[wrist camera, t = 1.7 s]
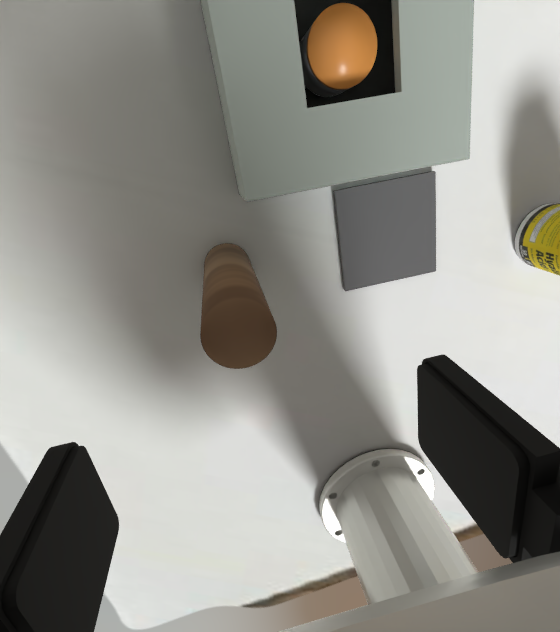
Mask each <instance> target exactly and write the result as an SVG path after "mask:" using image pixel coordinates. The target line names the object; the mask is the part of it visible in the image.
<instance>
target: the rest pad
mask: <svg viewBox="0 0 560 632" xmlns="http://www.w3.org/2000/svg"><path fill="white" fill-rule="evenodd" d="M333 192H334V201H335V211H336V220H337V230H338V239H339V248H340V258H341V267H342V276H343V286H344V290H345V291H348V290H353V289H357V288H362V287H367V286H371V285H376V284H380V283H385V282H389V281H394V280H398V279H403V278H407V277H412V276H416V275H421V274H425V273H430V272H434V271H436V191H435V171H432V172H427V173H422V174H416V175H411V176H406V177H401V178H396V179H391V180H386V181H381V182H375V183H370V184H365V185H360V186H355V187H350V188H345V189H340V190H334V191H333Z"/></svg>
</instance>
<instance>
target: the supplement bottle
mask: <svg viewBox="0 0 560 632" xmlns="http://www.w3.org/2000/svg"><path fill="white" fill-rule="evenodd" d="M515 250H516V253H517V255H518V257H519V258H520V259H521V260H522V261H523V262H524V263H526V264H528V265H530V266H533V267H536V268H539V269H542V270H545V271H548V272H551V273H554V274H557V275H560V204H557V203H551V204H545V205H542V206H540V207H538V208H536V209H534V210H533V211H532V212H530V213H529V214H528V215H527V216H526V218H525V219H524V220H523V221H522V223H521V225H520V227H519V229H518V231H517V234H516V238H515Z"/></svg>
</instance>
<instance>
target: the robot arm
mask: <svg viewBox="0 0 560 632" xmlns="http://www.w3.org/2000/svg"><path fill="white" fill-rule="evenodd" d="M417 386H418V439H419V444H420V446H421V448H422V450H423V452H424V453H425V454H426V456H427V457H428V459H429V460H430V461H431V463H432V464H433V465H434V467H435V468H436V469H437V471H438V472H439V473H440V475H441V476H442V477H443V479H444V480H445V481H446V483H447V484H448V486H449V487H450V488H451V490H452V491H453V492H454V494H455V495H456V496H457V498H458V499H459V500H460V502H461V503H462V504H463V506H464V507H465V508H466V510H467V511H468V512H469V514H470V515H471V517H472V518H473V519H474V521H475V522H476V523H477V525H478V526H479V527H480V529H481V530H482V531H483V533H484V534H485V535H486V537H487V538H488V539H489V541H490V542H491V544H492V545H493V546H494V547H495V549H496V550H497V552H498V553H499V554H500V555H501V556H502V557H503V558H510V560H511V561H512V562H513V563H512V564H509V565H504V566H501V567H497V568H493V569H490V570H486V571H483V572H478V570H477V569H476V567H475V566H474V564H473V563H472V561H471V560H470V558H469V557H468V555H467V554H466V552H465V551H464V549H463V547H462V546H461V545H460V543H459V541H458V540H457V538H456V537H455V535H454V534H453V532H452V531H451V529H450V528H449V526H448V525H447V523H446V522H445V520H444V519H443V517H442V516H441V514H440V513H439V511H438V510H437V508H436V506H435V505H434V503H433V502H432V498H433V495H434V480H433V477H432V474H431V472H430V470H429V469H428V468H427V466H426V465H425V463H424V462H423V461H422V460H421V459H420V458H419V457H417V456H415V455H414V454H412V453H410V452H406V451H403V450H397V449H382V450H376V451H372V452H368V453H365V454H363V455H360V456H357V457H356V458H354V459H352V460H350V461H349V462H347V463H346V464H344V465H343V466H342V467H340V468H339V469H338V470H337V471H336V472H335V473H334V474H333V475H332V476H331V477H330V479H329V480H328V482H327V483H326V485H325V486H324V489H323V491H322V493H321V497H320V502H319V509H320V514H321V518H322V521H323V524H324V526H325V528H326V530H327V531H328V532H329V533H330V534H331V535H332V536H333V537H335V538H336V539H338V540H340V541H343V542H345V543H346V544H347V547H348V550H349V553H350V555H351V558H352V561H353V564H354V566H355V569H356V572H357V575H358V578H359V580H360V583H361V586H362V589H363V591H364V594H365V597H366V600H367V603H368V605H366V606H363V607H359V608H356V609H353V610H349V611H346V612H343V613H339V614H336V615H333V616H330V617H326V618H323V619H319V620H316V621H313V622H309V623H306V624H302V625H299V626H296V627H292V628H289V629H286V630H283V631H279V632H560V448H559V447H557V446H556V445H555V444H554V443H552V442H551V441H550V440H549V439H548V438H546V437H545V436H544V435H543V434H541V433H540V432H539V431H538V430H537V429H535V428H534V427H533V426H532V425H530V424H529V423H528V422H527V421H526V420H524V419H523V418H522V417H521V416H519V415H518V414H517V413H516V412H514V411H513V410H512V409H511V408H510V407H508V406H507V405H506V404H505V403H503V402H502V401H501V400H500V399H499V398H497V397H496V396H495V395H494V394H492V393H491V392H490V391H489V390H488V389H486V388H485V387H484V386H483V385H481V384H480V383H479V382H478V381H477V380H475V379H474V378H473V377H472V376H470V375H469V374H468V373H467V372H465V371H464V370H463V369H462V368H461V367H459V366H458V365H457V364H456V363H454V362H453V361H452V360H451V359H450V358H448V357H447V356H445V355H439V356H435V357H430V358H426V359H424V360H423V362H422V365H419V366H418V368H417ZM118 530H119V520H118V516H117V514H116V512H115V510H114V507H113V505H112V503H111V501H110V499H109V497H108V495H107V492H106V490H105V488H104V486H103V484H102V482H101V480H100V477H99V475H98V473H97V471H96V469H95V467H94V465H93V462H92V460H91V458H90V456H89V454H88V452H87V450H86V448H85V447H84V446H78V444H77V443H75V442H71V443H67V444H63V445H59V446H54V447H51V448H49V449H48V451H47V452H46V454H45V456H44V458H43V459H42V461H41V463H40V465H39V467H38V468H37V470H36V472H35V474H34V476H33V477H32V479H31V481H30V483H29V485H28V486H27V488H26V490H25V492H24V494H23V495H22V497H21V499H20V501H19V503H18V504H17V506H16V508H15V510H14V512H13V513H12V515H11V517H10V519H9V521H8V522H7V524H6V526H5V528H4V530H3V531H2V533H1V535H0V632H94V629H95V625H96V621H97V617H98V613H99V608H100V604H101V600H102V596H103V592H104V588H105V584H106V580H107V576H108V571H109V567H110V563H111V559H112V555H113V551H114V547H115V543H116V539H117V535H118Z"/></svg>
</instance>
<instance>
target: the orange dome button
mask: <svg viewBox="0 0 560 632" xmlns="http://www.w3.org/2000/svg"><path fill="white" fill-rule="evenodd" d="M299 45H300V53H301V62H302V70H303V78H304V85H305V86H306V87H307V88H308V89H309V90H310V91H311V92H312V93H314V94H316V95H318V96H322V97H333V96H336V95H338V94H340V93H342V92H344V91H346V90H348V89H350V88H351V87H353V86H355V85H357V84H358V83H360V82H361V81H362V80H363V79H364V78H365V77H366V76H367V75H368V74H369V72H370V70H371V69H372V67H373V64H374V62H375V59H376V54H377V36H376V31H375V28H374V25H373V23H372V21H371V20H370V18H369V16H368V15H367V14H366V13H365V12H364V11H363V10H362V9H360V8H359V7H357V6H355V5H353V4H349V3H338V4H334V5H332V6H330V7H328V8H326V9H325V10H324V11H323V12H321V14H320V15H319V16H318V17H317V18H316V20H315V21H314V23H313V24H312V25H311V27H310V28H309V29H308V31H307V32H306V33H305V35H304V36H303V38H302V40H301V42H300V44H299Z"/></svg>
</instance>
